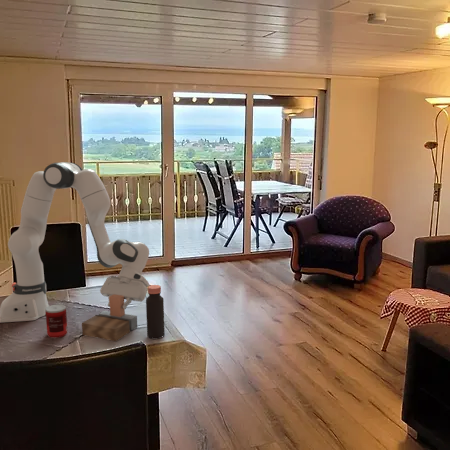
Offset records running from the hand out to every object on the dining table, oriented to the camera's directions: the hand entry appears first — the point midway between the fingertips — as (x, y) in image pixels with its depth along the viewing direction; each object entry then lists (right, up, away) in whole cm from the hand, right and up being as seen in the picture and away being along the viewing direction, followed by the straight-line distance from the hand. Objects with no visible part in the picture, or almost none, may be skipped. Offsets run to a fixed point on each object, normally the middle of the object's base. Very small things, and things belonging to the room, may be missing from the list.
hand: (116, 307), depth 195 cm
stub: (0, -8, +2) cm, 8 cm away
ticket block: (-3, -10, -5) cm, 11 cm away
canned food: (-22, -10, -5) cm, 25 cm away
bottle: (+17, -10, -7) cm, 21 cm away
